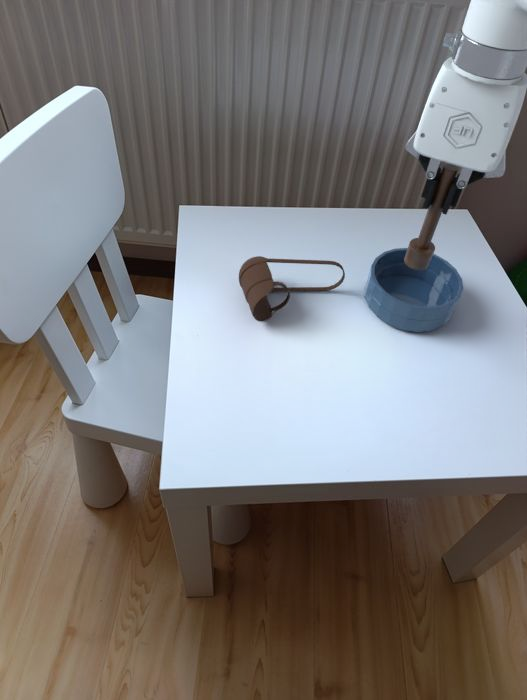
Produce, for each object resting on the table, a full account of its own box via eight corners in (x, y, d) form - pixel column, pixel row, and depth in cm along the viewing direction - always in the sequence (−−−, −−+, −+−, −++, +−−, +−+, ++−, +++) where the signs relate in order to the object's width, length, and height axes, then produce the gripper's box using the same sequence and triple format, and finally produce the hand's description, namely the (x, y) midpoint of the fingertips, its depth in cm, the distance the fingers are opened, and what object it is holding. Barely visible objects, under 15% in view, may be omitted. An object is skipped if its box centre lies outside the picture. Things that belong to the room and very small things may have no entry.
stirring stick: (431, 259, 78) (468, 164, 67) (425, 273, 76) (462, 178, 64) (407, 251, 79) (439, 156, 67) (401, 265, 77) (433, 169, 65)
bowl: (459, 292, 96) (471, 266, 92) (439, 347, 87) (451, 321, 82) (379, 264, 100) (387, 237, 95) (351, 314, 91) (358, 287, 86)
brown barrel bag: (249, 328, 87) (251, 297, 82) (233, 281, 94) (235, 249, 89) (352, 314, 91) (361, 283, 85) (330, 269, 98) (336, 239, 93)
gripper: (409, 49, 56) (370, 202, 70) (566, 87, 52) (492, 240, 66) (426, 28, 60) (387, 175, 74) (571, 62, 57) (501, 210, 71)
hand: (437, 205), depth 70 cm, fingers closed on stirring stick
